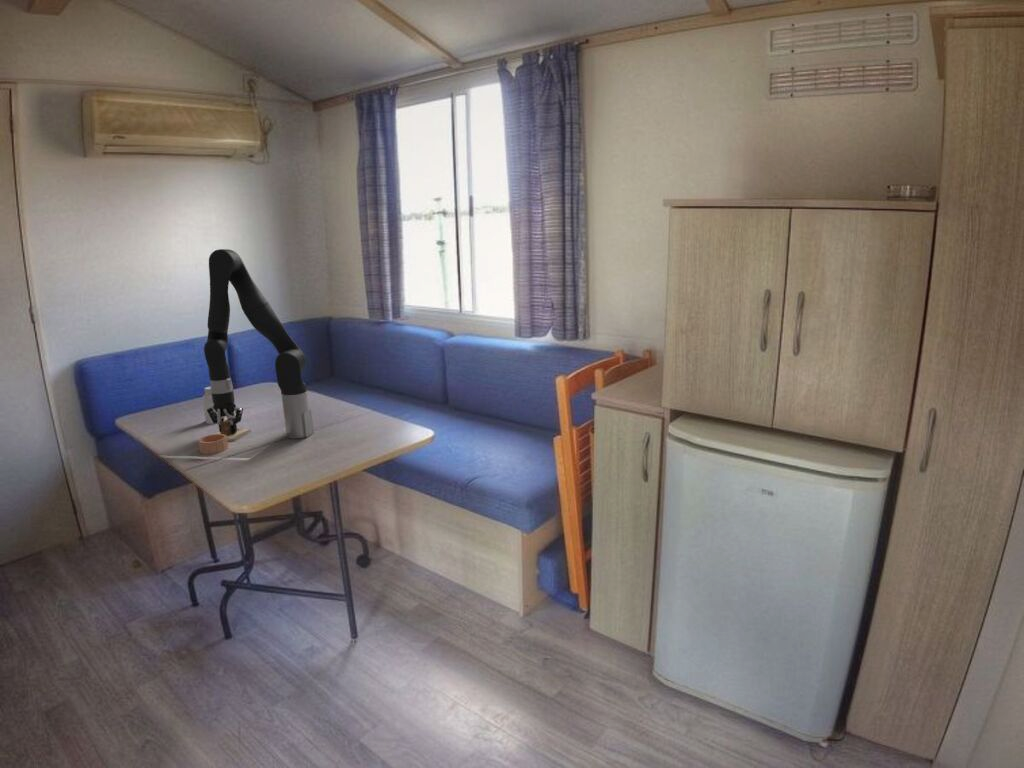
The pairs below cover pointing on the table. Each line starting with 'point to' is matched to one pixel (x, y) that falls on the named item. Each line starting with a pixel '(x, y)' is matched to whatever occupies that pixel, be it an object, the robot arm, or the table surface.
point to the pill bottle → (208, 405)
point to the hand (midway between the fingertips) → (228, 433)
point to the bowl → (213, 443)
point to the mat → (239, 438)
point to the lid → (227, 431)
